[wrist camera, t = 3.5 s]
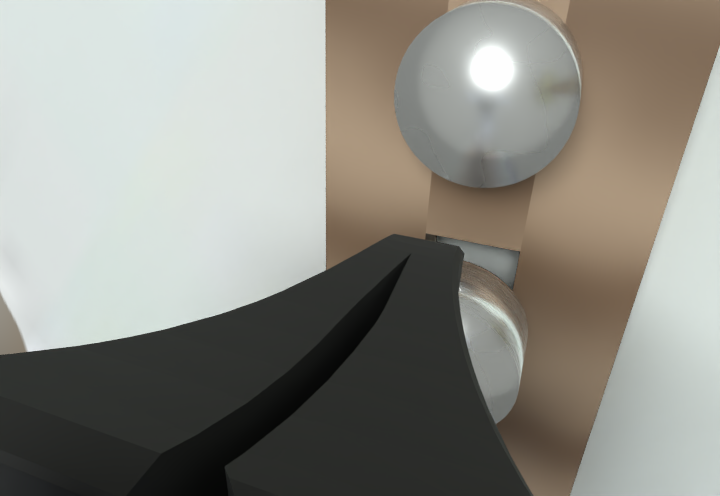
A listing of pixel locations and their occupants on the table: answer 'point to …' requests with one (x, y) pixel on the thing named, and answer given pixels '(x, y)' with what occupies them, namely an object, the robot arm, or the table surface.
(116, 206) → the table surface
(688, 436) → the table surface
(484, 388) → the button middle
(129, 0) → the table surface
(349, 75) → the button panel
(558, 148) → the button
